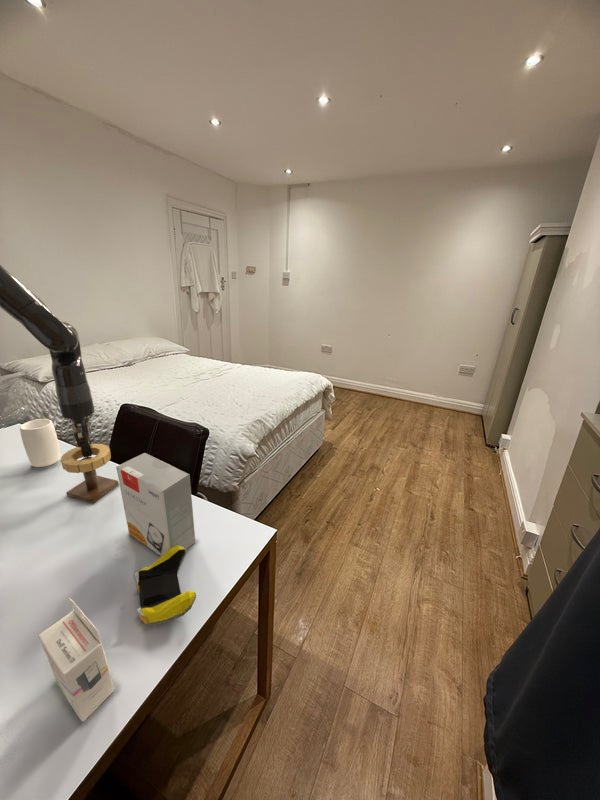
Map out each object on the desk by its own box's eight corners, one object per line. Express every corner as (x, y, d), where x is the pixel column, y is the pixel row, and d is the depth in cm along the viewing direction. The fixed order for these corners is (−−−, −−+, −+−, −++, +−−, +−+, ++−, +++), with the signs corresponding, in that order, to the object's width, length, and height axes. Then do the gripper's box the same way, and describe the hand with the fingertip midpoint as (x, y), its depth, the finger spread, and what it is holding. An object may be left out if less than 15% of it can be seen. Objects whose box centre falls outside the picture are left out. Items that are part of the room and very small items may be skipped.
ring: (51, 468, 86) (49, 460, 85) (89, 447, 96) (87, 440, 95) (86, 476, 83) (84, 469, 82) (120, 454, 93) (119, 447, 92)
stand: (67, 496, 90) (58, 464, 86) (94, 478, 98) (87, 448, 94) (93, 503, 88) (85, 471, 84) (118, 484, 96) (113, 454, 92)
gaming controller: (185, 558, 73) (136, 574, 68) (183, 540, 71) (133, 555, 66) (199, 618, 61) (141, 642, 56) (197, 597, 59) (136, 621, 54)
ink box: (54, 683, 50) (30, 620, 45) (88, 655, 54) (69, 593, 49) (81, 725, 46) (58, 661, 40) (116, 691, 50) (99, 627, 44)
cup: (25, 472, 99) (11, 431, 94) (38, 457, 107) (26, 419, 101) (56, 469, 101) (45, 429, 96) (67, 455, 109) (57, 417, 104)
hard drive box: (127, 535, 78) (114, 465, 71) (155, 516, 84) (145, 451, 77) (171, 564, 71) (161, 490, 64) (197, 541, 77) (191, 472, 70)
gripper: (61, 391, 90) (74, 445, 96) (54, 410, 79) (70, 469, 85) (92, 388, 94) (103, 440, 100) (90, 405, 82) (102, 462, 89)
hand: (87, 453), depth 93 cm, fingers closed on ring, 2 cm apart
